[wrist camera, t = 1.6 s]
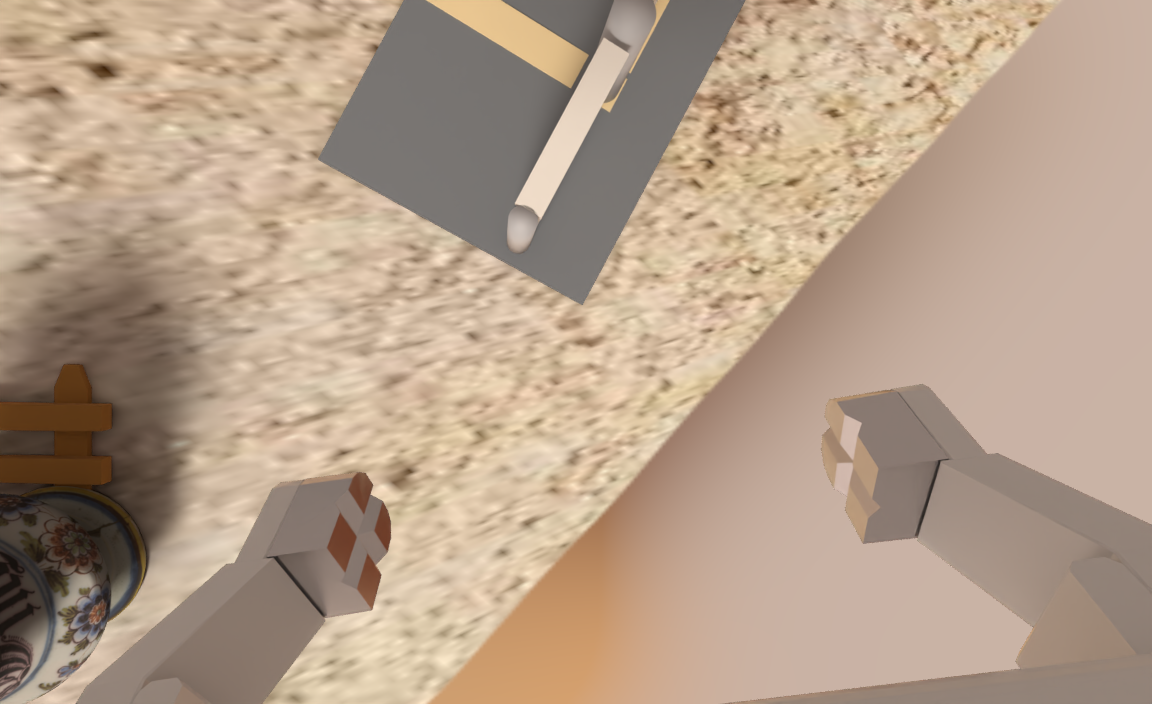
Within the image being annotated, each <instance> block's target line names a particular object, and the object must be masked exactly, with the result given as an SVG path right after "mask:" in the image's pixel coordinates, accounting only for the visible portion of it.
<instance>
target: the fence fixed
mask: <svg viewBox="0 0 1152 704" xmlns="http://www.w3.org/2000/svg"><path fill="white" fill-rule="evenodd" d="M657 1H658V0H614V2H613V5H612V8H611V11H610V13H609V16H608V19H607V22H606V25H605V28H604V30H603V33H602V36H601V39H600V42H599V45H600V44H601V42H602V40H603V38H605V39H607V40H608V41H610V42H612V43H613V44H615V45H616V46H618V47H620V48H621V49H623V50H624V51H626V52H627V53H629V56H628V58H627V60H626V62H625V64H624V66H623V68H622V69H621V71H620V73H619V75H618V77H617V79H616V81H615V82H614V84H613V86H612V88H611V90H610V92H609V94H608V95H607V97H606V99H605V101H604V103H608V102H610V101H612V100H614V99H615V98H616V96H617V95H618V93H619V91H620V89H621V87H622V85H623V83H624V81H625V79H626V77H627V75H628V73H629V71H630V69H631V68H632V66H633V64H634V62H635V60H636V58H637V56H638V54H639V52H640V50H641V48H642V46H643V44H644V42H645V40H646V39H647V37H648V35H649V33H650V31H651V29H652V27H653V25H654V23H655V20H656V7H655V5H656V3H657ZM599 45H598V47H599ZM598 47H597V49H598ZM596 51H597V50H596Z"/></svg>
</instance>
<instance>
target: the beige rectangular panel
mask: <svg viewBox="0 0 1152 704" xmlns="http://www.w3.org/2000/svg"><path fill="white" fill-rule="evenodd" d="M628 56H629V53H627V52H626V51H624V50H623V49H621V48H620V47H618V46H616V45H615V44H613V43H612V42H610V41H608V40H607V39H605V38H603V40H602V42H601V44H600V45H599V47H598V49H597V51H596V53H595V55H594V57H593V59H592V60H591V62H590V64H589V66H588V68H587V70H586V72H585V73H584V75H583V77H582V79H581V81H580V83H579V85H578V86H577V88H576V90H575V92H574V94H573V96H572V98H571V100H570V101H569V103H568V105H567V107H566V109H565V111H564V113H563V114H562V116H561V118H560V120H559V122H558V124H557V126H556V127H555V129H554V131H553V133H552V135H551V137H550V139H549V140H548V142H547V144H546V146H545V148H544V150H543V152H542V154H541V155H540V157H539V159H538V161H537V163H536V165H535V167H534V168H533V170H532V172H531V174H530V176H529V178H528V180H527V181H526V183H525V185H524V187H523V189H522V191H521V193H520V194H519V196H518V198H517V200H516V202H515V205H516V207H514V208H513V209H512V210H511V211H510V213H509V216H508V228H507V246H508V248H509V250H510V251H511V252H513V253H516V254H522V253H524V252H526V251H527V250H528V248H529V246H530V243H531V241H532V238H533V235H534V233H535V230H536V228H537V225H538V223H539V221H540V219H542V217H543V215H544V213H545V211H546V209H547V207H548V206H549V204H550V202H551V200H552V198H553V196H554V194H555V192H556V191H557V189H558V187H559V185H560V183H561V181H562V179H563V178H564V176H565V174H566V172H567V170H568V168H569V166H570V164H571V163H572V161H573V159H574V157H575V155H576V153H577V151H578V150H579V148H580V146H581V144H582V142H583V140H584V138H585V137H586V135H587V133H588V131H589V129H590V127H591V125H592V123H593V122H594V120H595V118H596V116H597V114H598V112H599V110H600V109H601V107H602V105H603V103H604V101H605V99H606V97H607V95H608V94H609V92H610V90H611V88H612V86H613V84H614V82H615V81H616V79H617V77H618V75H619V73H620V71H621V69H622V68H623V66H624V64H625V62H626V60H627V58H628Z"/></svg>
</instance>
